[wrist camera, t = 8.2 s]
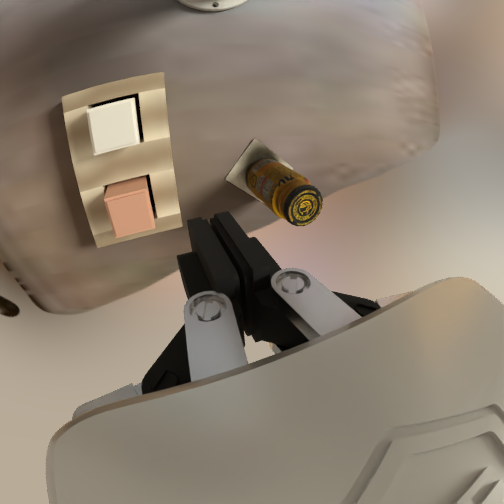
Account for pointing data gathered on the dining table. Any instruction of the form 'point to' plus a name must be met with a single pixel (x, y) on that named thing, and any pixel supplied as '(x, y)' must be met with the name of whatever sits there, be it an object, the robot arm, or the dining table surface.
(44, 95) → the dining table surface
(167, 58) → the dining table surface
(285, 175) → the condiment
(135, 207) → the terracotta key
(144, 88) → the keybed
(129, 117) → the ivory key
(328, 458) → the robot arm
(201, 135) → the dining table surface
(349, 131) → the dining table surface
